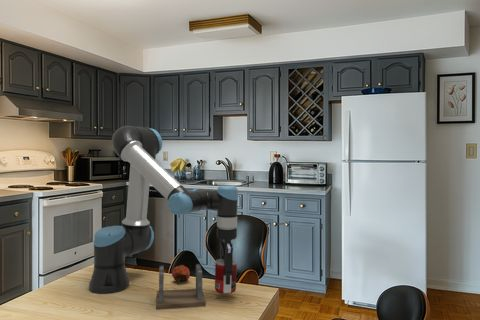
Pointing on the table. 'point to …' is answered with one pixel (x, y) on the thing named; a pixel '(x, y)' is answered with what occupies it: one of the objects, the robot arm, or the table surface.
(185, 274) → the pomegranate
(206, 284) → the table surface
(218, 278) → the canned food
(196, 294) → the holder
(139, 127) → the robot arm
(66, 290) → the table surface
